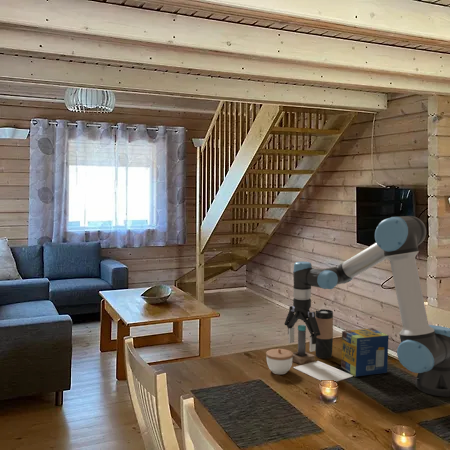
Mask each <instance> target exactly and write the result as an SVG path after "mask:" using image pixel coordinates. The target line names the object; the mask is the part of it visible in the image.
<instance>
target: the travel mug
mask: <svg viewBox="0 0 450 450" xmlns="http://www.w3.org/2000/svg"><path fill="white" fill-rule="evenodd" d="M315 318H316V321H317V324H318V327H319V331H320V335H319V336H317V338H316V351H315V357H317V358H319V359H330V358H332V357H333V344H334V343H333V341H334V332H333V331H334V311H333V310H331V309H325V308H322V309H320V310H315Z"/></svg>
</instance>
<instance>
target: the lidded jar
mask: <svg viewBox="0 0 450 450" xmlns="http://www.w3.org/2000/svg"><path fill="white" fill-rule="evenodd" d="M293 353H294V352H292V351H291V350H289V349H285V348H272V349H269V350H267V351H266V352H265V355H266V356H265V357H266V363H267V367H268V369H269V370H270V371H271V373H273V374H275V375H286V374H287V373H288V372H289V370H290V369H291V367H292V365H293V361H292V360H293Z"/></svg>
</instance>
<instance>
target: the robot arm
mask: <svg viewBox="0 0 450 450" xmlns="http://www.w3.org/2000/svg"><path fill="white" fill-rule="evenodd" d="M426 236H427V228H426V225H425V223H424V221H422V220H421V219H420V218H418V217H416V216H414V215H413V216H412V215H405V216H391V217H388V218H385V219H383V220H381V221H380V222H379V223H378V225H377V226H376V229H375V231H374V240H375V242H374V243H373V244H371V245H370V246H368V247H366V248H365V249H363V250H361V251H360V252H358V253H356V254H355V255H353V256H352V257H350V258H348V259H346V260H344V261H343V262H342V263H340V264H337V265H336V266H332V267H326V268H314V267H312V263H311V262H310V261H296V262H294V264H293V273H292V274H293V288H292V289H293V292H292V297H293V299H292V301H293V302H292V303H293V304H292V305H291V306H289V310H288V314H287V315H286V318H285V320H284V321H285V322H284V326H286V328H287V335H288V344H292V343H295V327H294V326H295V324H296V323H297V322H298V320H301V321H303V323H305V324H304V325H305V326H306V329H307V330H308V332H309V334H310V335H309V353H311V352H312V353H313V352H316V338H317V336H319V335H320V331H319V327H318V324H317V321H316V311H310V308H311V307H312V298H311V297H312V287H313V288H319V289H324V290H333V289H335V287H336V286H337V285H338V286H339V285H341V284H342V285H343V284H347V283H348V282H351V281H352V280H353V278H355V277H356V276H358V275H360V274H362V273H364V272H366V271H368V270H369V269H371V268H372V267H375V266H376V265H378V264H379V263H382V262H383V261H385V260H388V261H389V263H390V269H391V273H392V279H393V284H394V289H395V295H396V299H397V304H398V310H399V316H400V319H401V320H400V321H401V326H402V329H401V330H400V332H399V339H400V343H399V345H398V346H397V350H396V355H397V359H398V361H399V363H400V365H402V366H403V367H404V368H406V370H407V371H410V372H411V373H415V374H416V378H415V387H416V388H417V390H419V391H420V392H422V393H425V394H426V395H430V396H431V395H432V396H437V397H446V398H447V397H450V327H447V326H441V325H435V324H434V325H433V324H429V319H428V316H427V310H426V306H425V299H424V294H423V290H422V286H421V285H422V284H421V279H420V275H419V271H418V264H417V260H416V256H417V255H418V254H419V252H420V251H419V246H420V245H421V244H422V243H423V242H424V241H425V238H426Z"/></svg>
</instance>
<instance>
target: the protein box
mask: <svg viewBox="0 0 450 450" xmlns="http://www.w3.org/2000/svg"><path fill="white" fill-rule="evenodd" d="M388 354H389V335H388V334H386V333H383V332H382V331H380V330H377V329H375V328H361V329H350V330H342V332H341V358H340V361H341V363H340V368H341V369H342V370H344V371H345V372H346V373H349V374H351V375H353V376H354V377H362V376H371V375H377V374H386V373H388V363H389V362H388V359H389V358H388V357H389V355H388Z"/></svg>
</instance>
